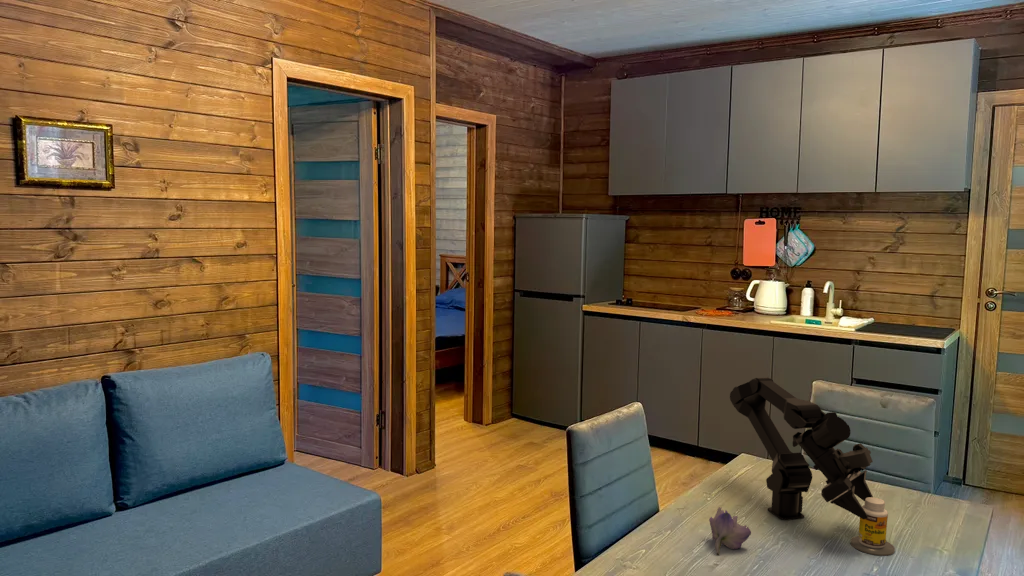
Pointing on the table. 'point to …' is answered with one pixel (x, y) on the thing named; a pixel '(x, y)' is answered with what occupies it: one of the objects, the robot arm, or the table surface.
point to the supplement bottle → (873, 524)
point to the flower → (727, 531)
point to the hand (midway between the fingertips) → (870, 511)
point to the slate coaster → (884, 551)
